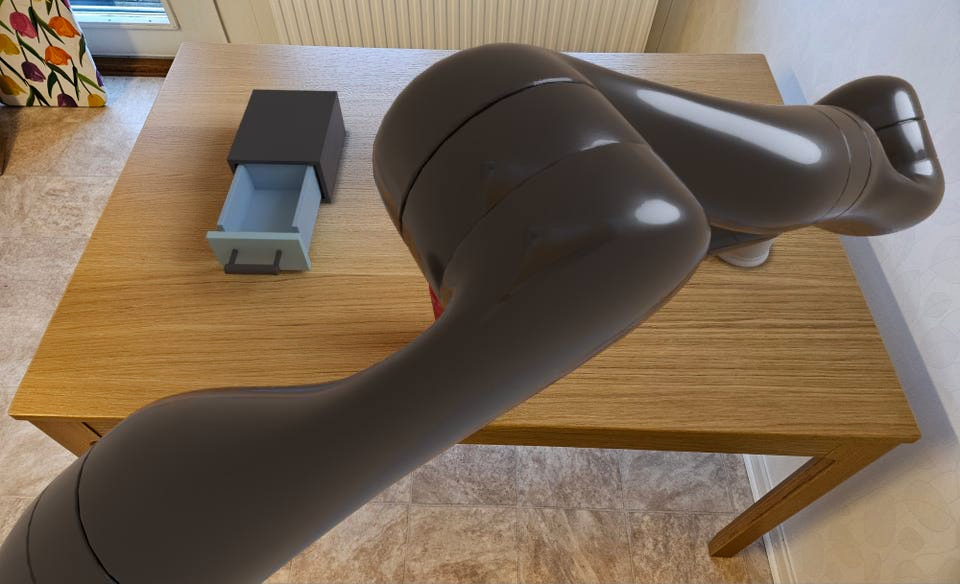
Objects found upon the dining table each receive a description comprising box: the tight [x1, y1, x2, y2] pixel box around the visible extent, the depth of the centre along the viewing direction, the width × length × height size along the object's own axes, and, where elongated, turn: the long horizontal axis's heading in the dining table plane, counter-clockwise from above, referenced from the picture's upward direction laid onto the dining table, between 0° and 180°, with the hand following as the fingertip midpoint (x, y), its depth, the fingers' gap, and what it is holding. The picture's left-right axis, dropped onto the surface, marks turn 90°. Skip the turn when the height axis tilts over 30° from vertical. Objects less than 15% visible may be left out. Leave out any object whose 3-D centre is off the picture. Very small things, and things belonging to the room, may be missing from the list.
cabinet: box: [226, 88, 347, 204], centre depth 94 cm, size 17×14×9 cm
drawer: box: [205, 164, 323, 276], centre depth 84 cm, size 19×12×7 cm, turn 179°
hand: (518, 278), depth 63 cm, fingers open, 8 cm apart
